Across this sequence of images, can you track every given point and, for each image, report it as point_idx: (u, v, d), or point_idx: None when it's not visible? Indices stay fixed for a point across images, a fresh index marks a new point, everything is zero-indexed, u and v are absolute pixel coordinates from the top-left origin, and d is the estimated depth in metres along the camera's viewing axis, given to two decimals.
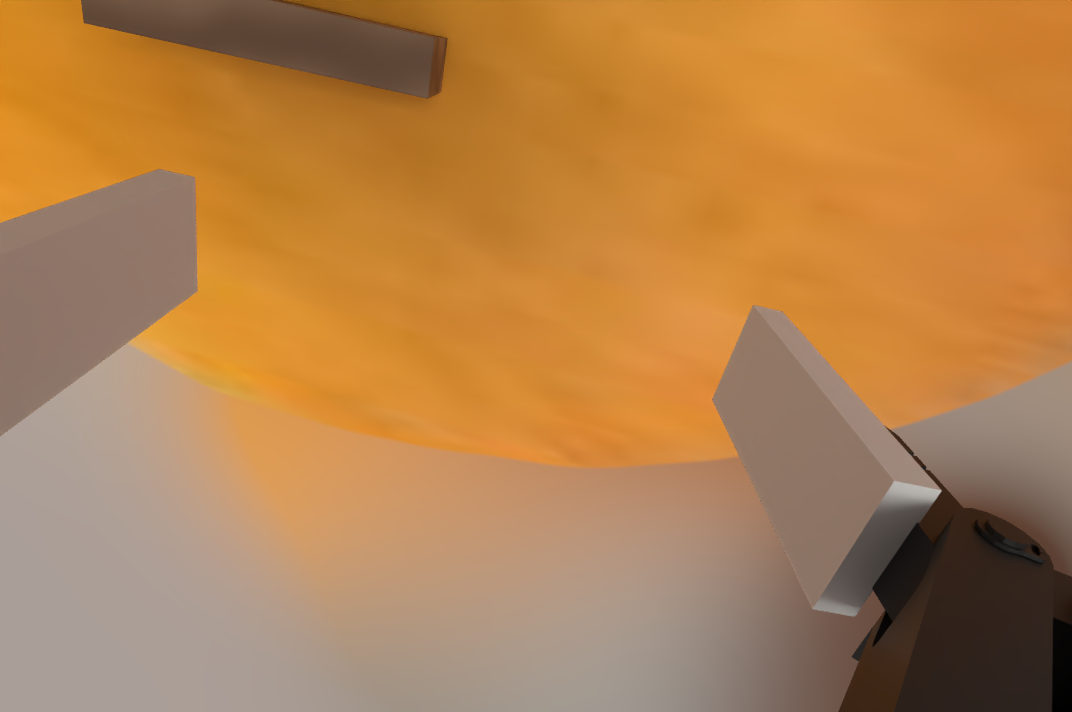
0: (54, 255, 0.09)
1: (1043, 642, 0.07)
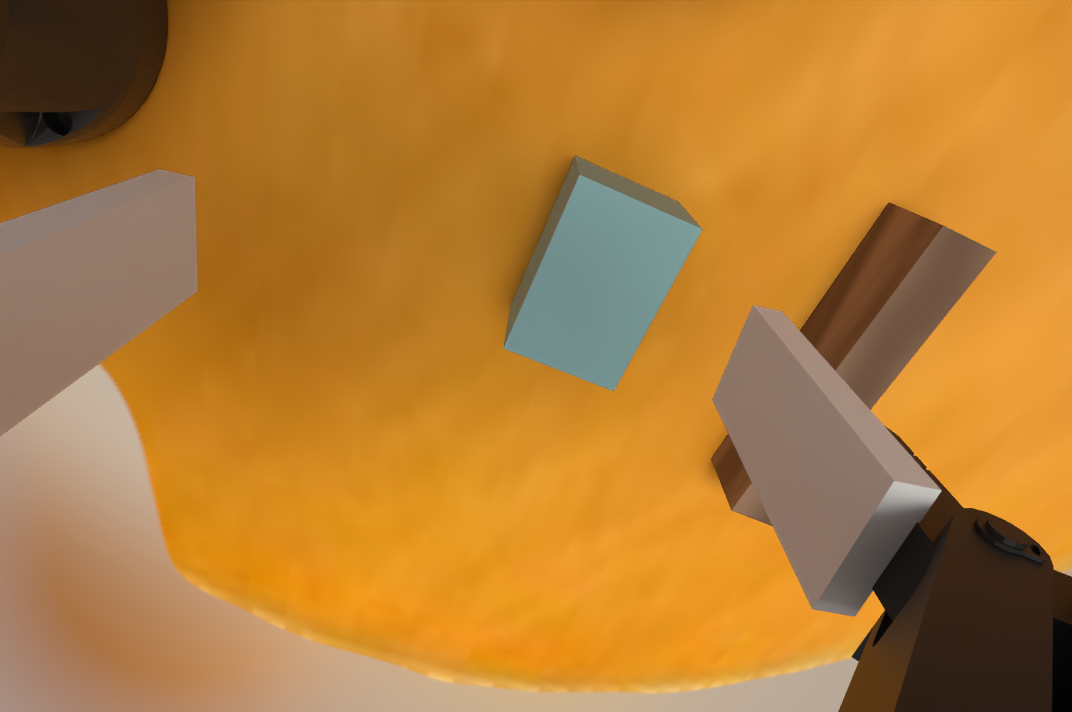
0: (54, 255, 0.09)
1: (1043, 642, 0.07)
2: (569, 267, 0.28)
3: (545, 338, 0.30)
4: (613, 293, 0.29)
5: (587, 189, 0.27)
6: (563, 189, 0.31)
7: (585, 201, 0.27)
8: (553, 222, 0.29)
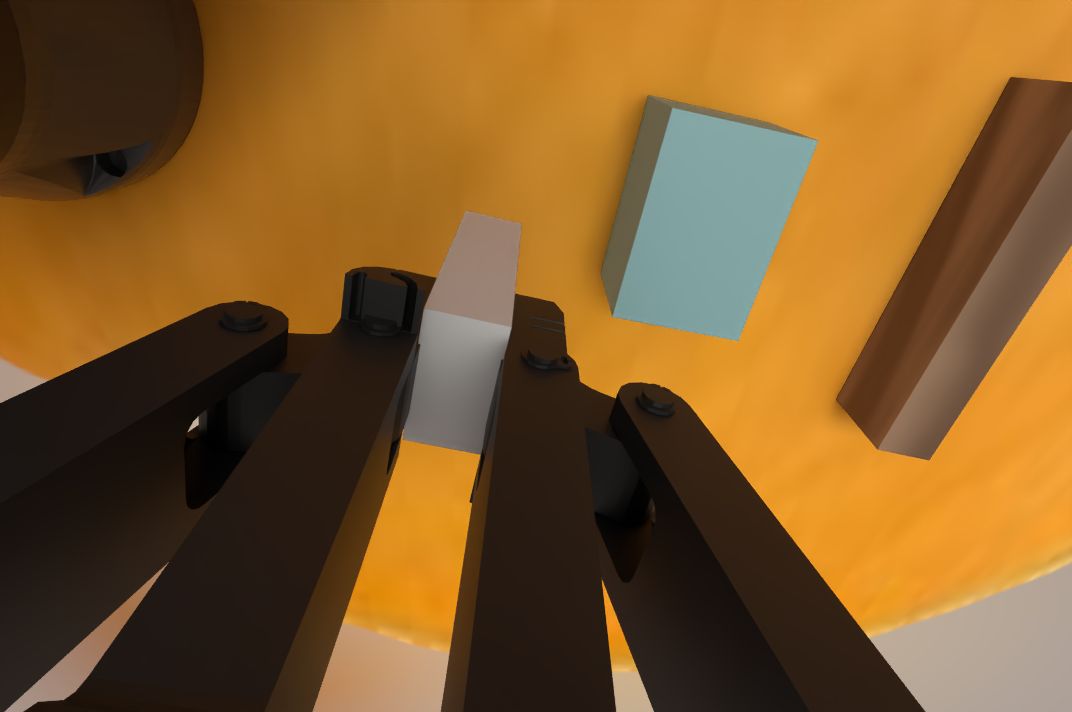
0: None
1: (579, 433, 0.08)
2: (673, 214, 0.26)
3: (657, 297, 0.27)
4: (725, 233, 0.26)
5: (683, 122, 0.24)
6: (643, 133, 0.28)
7: (682, 136, 0.24)
8: (643, 170, 0.27)
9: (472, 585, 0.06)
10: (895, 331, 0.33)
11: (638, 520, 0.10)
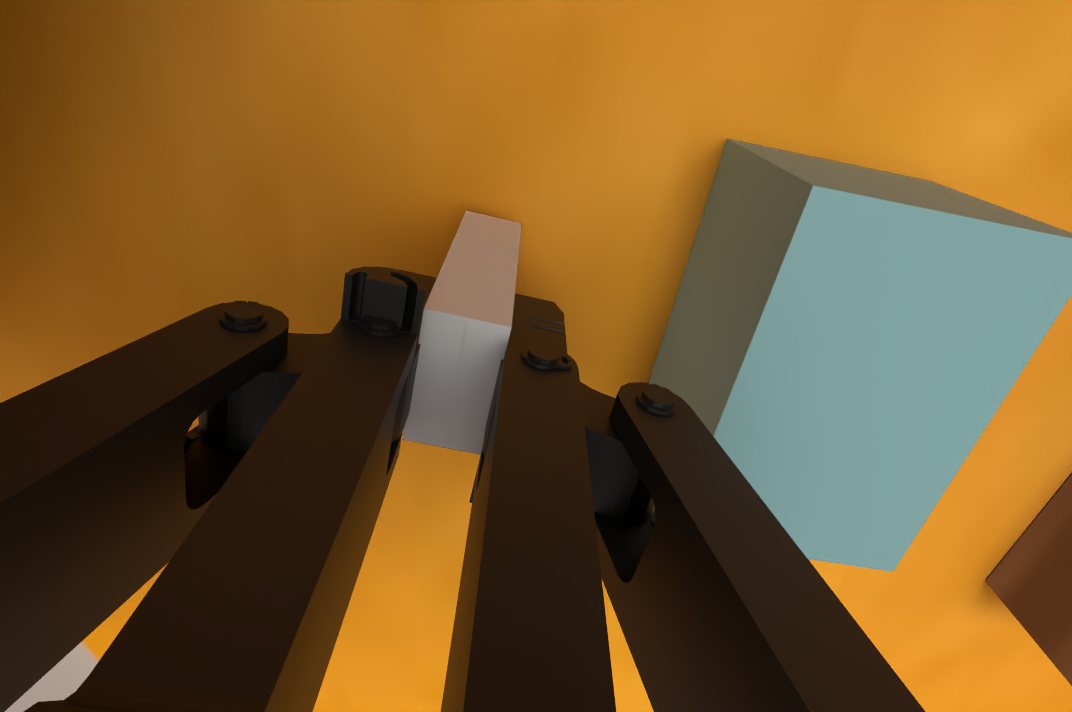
0: None
1: (579, 433, 0.08)
2: (796, 378, 0.13)
3: None
4: (892, 409, 0.14)
5: (832, 214, 0.12)
6: (722, 208, 0.16)
7: (828, 240, 0.12)
8: (729, 282, 0.15)
9: (472, 585, 0.06)
10: None
11: (638, 520, 0.10)
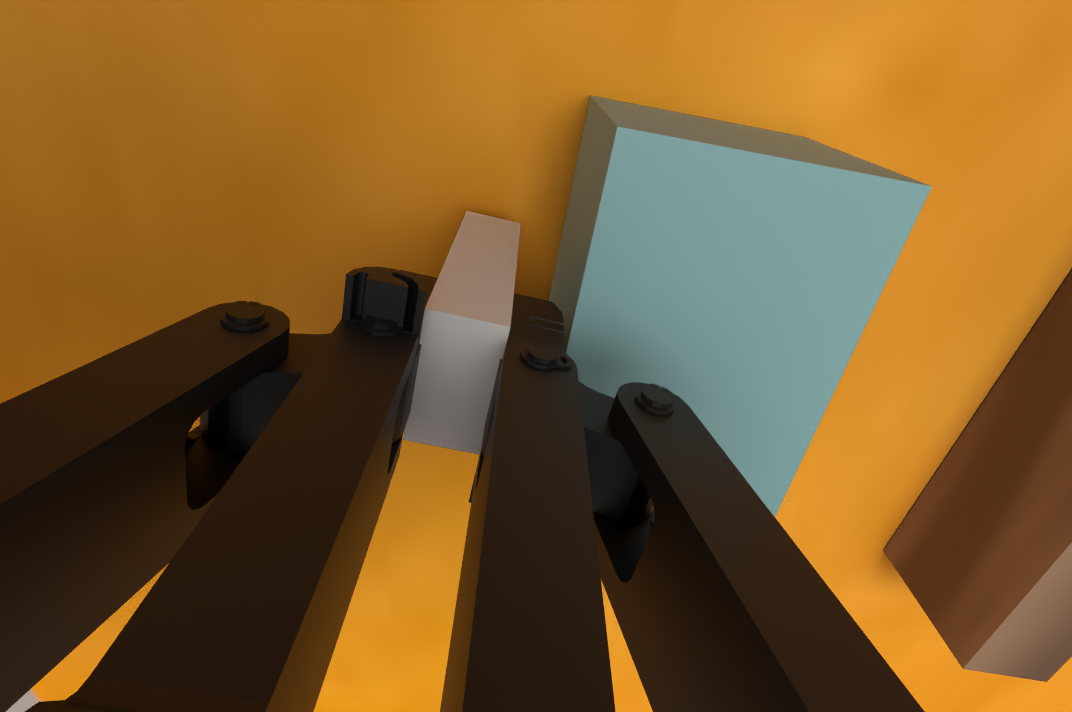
0: None
1: (578, 433, 0.08)
2: (633, 336, 0.13)
3: None
4: (737, 367, 0.13)
5: (642, 157, 0.11)
6: (581, 167, 0.15)
7: (642, 186, 0.11)
8: (576, 241, 0.14)
9: (471, 585, 0.06)
10: (988, 469, 0.20)
11: (637, 520, 0.10)
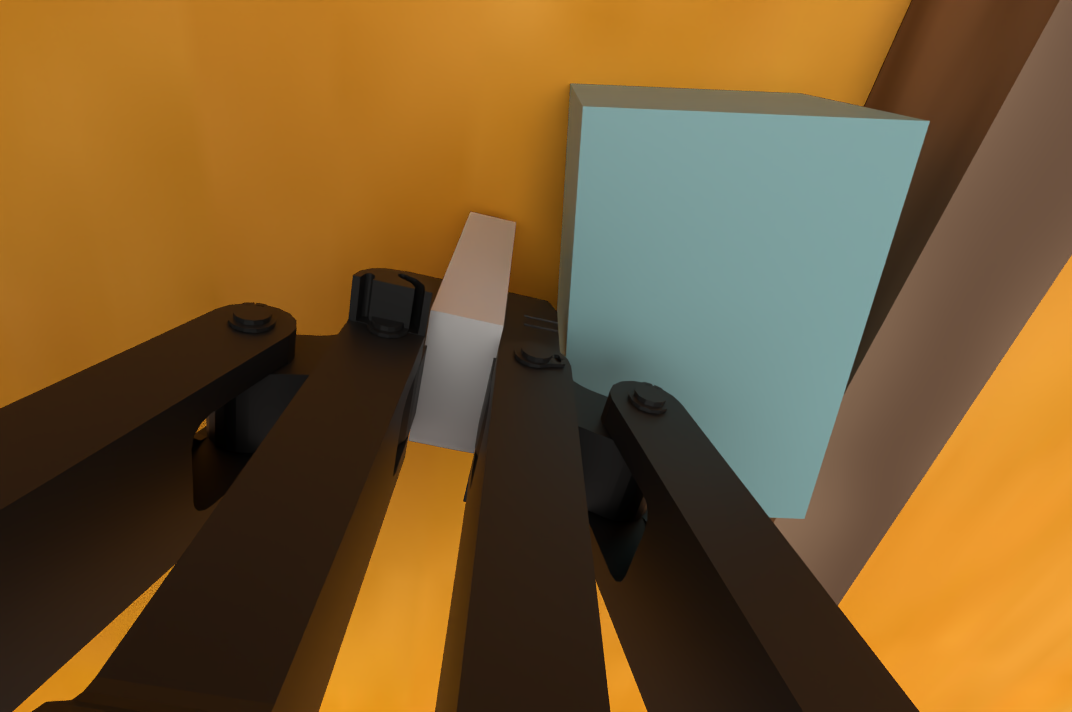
0: None
1: (572, 431, 0.08)
2: (632, 320, 0.12)
3: None
4: (747, 339, 0.13)
5: (613, 134, 0.11)
6: (568, 157, 0.15)
7: (618, 164, 0.11)
8: (568, 231, 0.14)
9: (465, 584, 0.06)
10: None
11: (630, 519, 0.10)
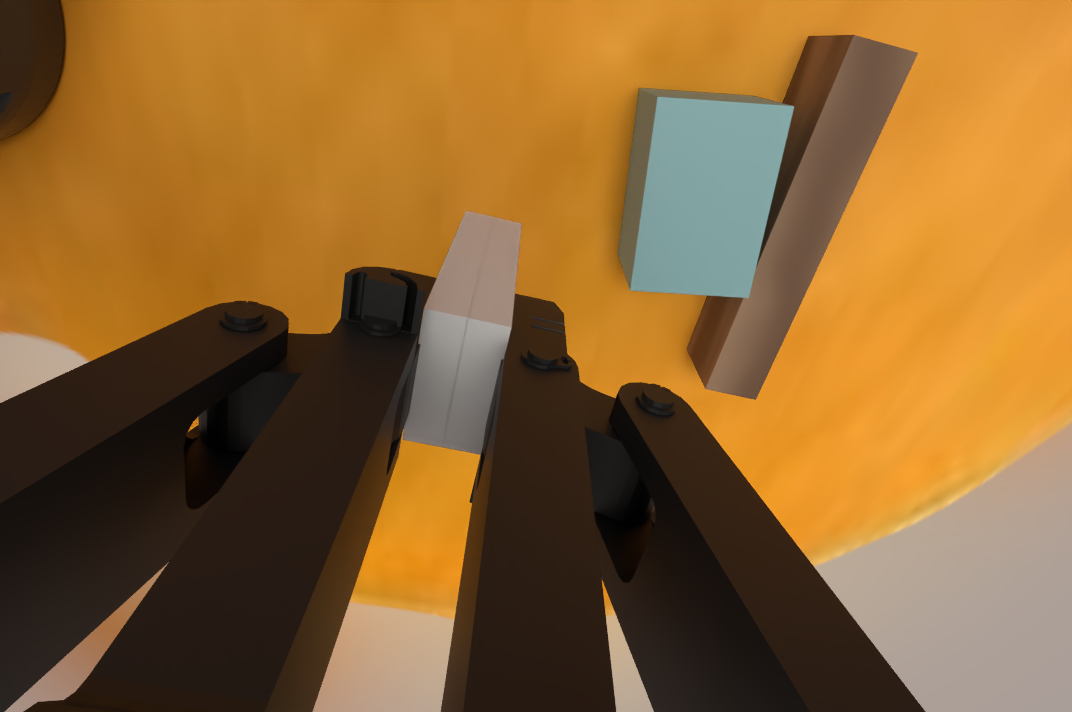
0: None
1: (579, 433, 0.08)
2: (672, 191, 0.28)
3: (668, 267, 0.30)
4: (721, 201, 0.29)
5: (669, 108, 0.27)
6: (638, 123, 0.31)
7: (670, 120, 0.27)
8: (641, 155, 0.30)
9: (472, 585, 0.06)
10: None
11: (638, 520, 0.10)
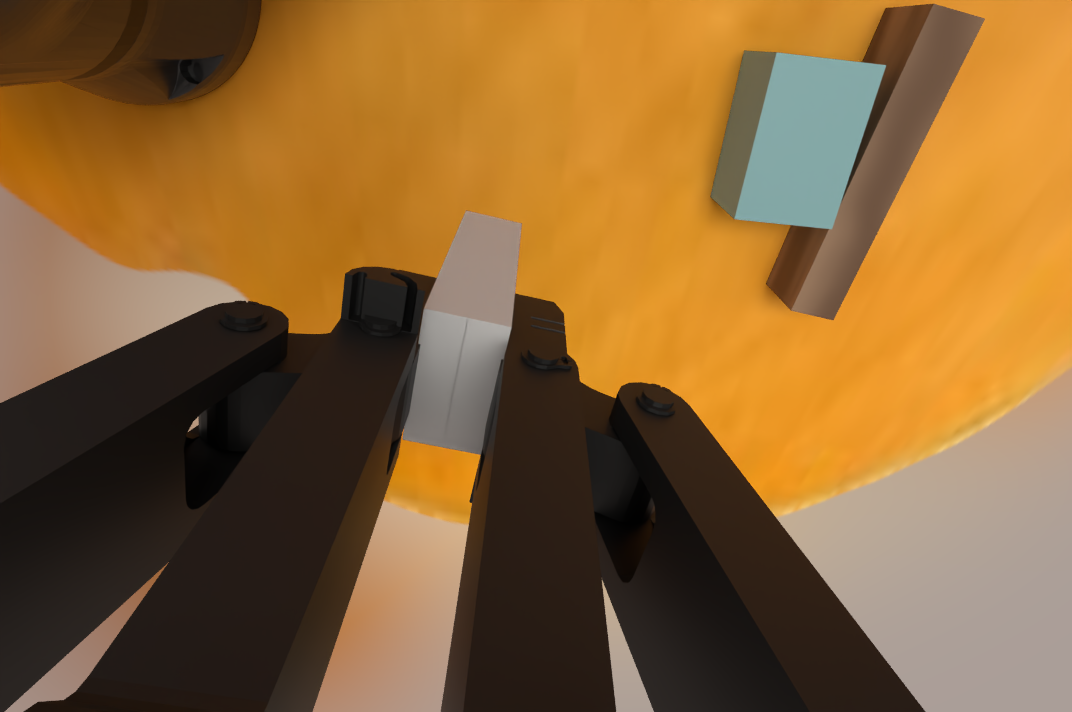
0: None
1: (579, 433, 0.08)
2: (779, 133, 0.34)
3: (768, 200, 0.36)
4: (819, 144, 0.35)
5: (784, 62, 0.33)
6: (744, 79, 0.37)
7: (784, 73, 0.33)
8: (749, 105, 0.36)
9: (472, 585, 0.06)
10: None
11: (638, 520, 0.10)
